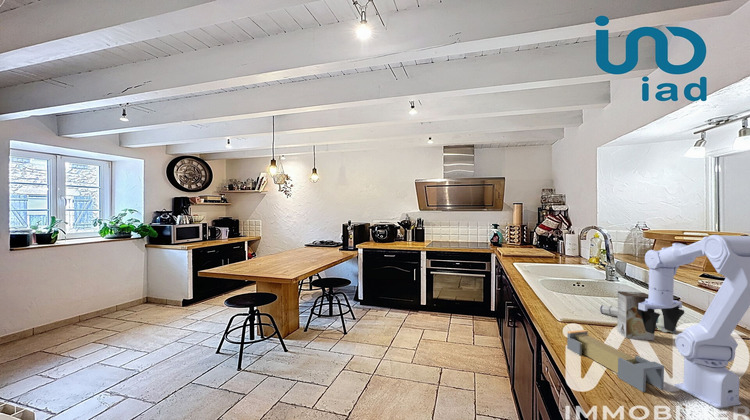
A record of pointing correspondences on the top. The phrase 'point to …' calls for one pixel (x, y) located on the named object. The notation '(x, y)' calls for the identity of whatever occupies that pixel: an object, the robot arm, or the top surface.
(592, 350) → the tan rectangular post
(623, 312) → the coffee box
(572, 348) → the socket
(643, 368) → the sleeve
